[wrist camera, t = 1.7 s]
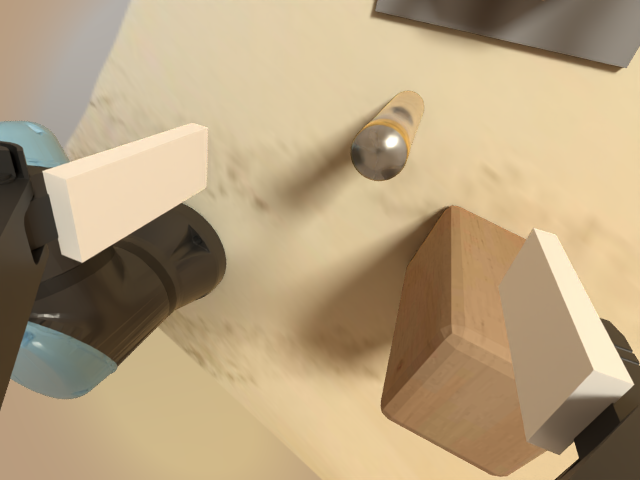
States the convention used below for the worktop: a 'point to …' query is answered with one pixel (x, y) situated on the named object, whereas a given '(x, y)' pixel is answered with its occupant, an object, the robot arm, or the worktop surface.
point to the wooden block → (458, 347)
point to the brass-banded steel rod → (388, 138)
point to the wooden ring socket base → (538, 23)
